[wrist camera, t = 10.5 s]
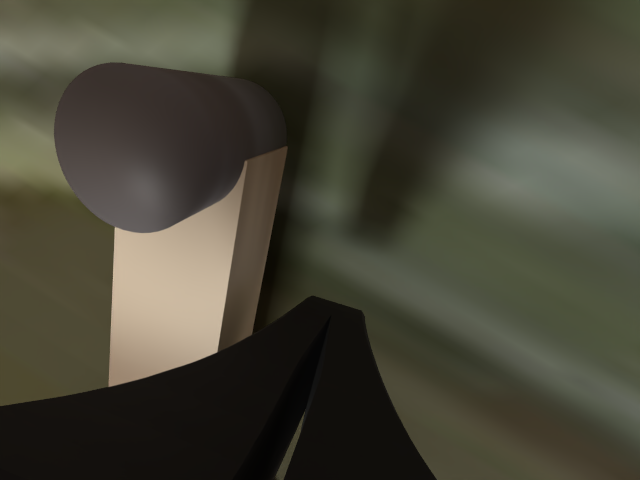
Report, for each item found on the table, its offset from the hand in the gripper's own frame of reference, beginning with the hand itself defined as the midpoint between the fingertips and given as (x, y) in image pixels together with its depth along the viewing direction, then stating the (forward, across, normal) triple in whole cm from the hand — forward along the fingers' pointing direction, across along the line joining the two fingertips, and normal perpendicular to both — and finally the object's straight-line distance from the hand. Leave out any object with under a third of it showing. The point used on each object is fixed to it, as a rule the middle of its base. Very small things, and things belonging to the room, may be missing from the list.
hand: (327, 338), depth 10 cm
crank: (+2, +3, +3) cm, 5 cm away
